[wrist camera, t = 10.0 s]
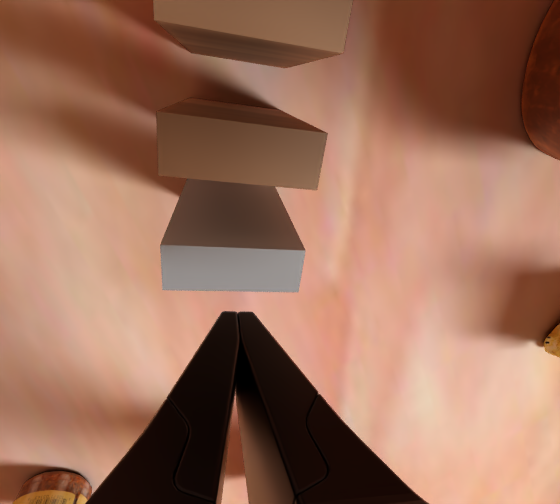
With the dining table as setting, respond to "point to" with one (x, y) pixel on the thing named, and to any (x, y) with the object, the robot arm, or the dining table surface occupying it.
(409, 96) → the dining table surface
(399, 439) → the dining table surface
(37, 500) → the sauce bottle
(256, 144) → the domino
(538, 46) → the brown wooden tapered container
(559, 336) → the chocolate bunny
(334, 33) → the domino
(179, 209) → the domino
